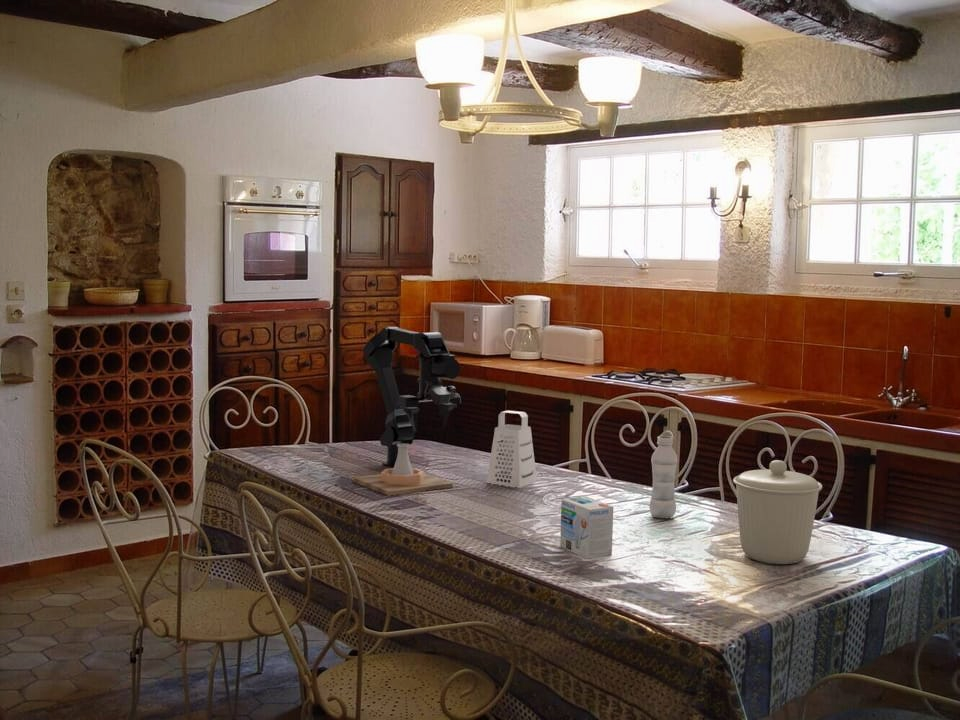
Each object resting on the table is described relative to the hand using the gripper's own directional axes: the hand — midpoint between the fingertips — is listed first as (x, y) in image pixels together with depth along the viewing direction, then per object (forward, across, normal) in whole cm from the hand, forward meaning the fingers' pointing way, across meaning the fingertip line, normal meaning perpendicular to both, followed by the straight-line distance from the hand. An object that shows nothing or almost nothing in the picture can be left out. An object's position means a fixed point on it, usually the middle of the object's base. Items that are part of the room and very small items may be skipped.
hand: (428, 429), depth 293 cm
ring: (+12, -14, -9) cm, 20 cm away
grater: (+13, +14, -22) cm, 29 cm away
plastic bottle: (+13, +22, -73) cm, 77 cm away
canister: (+13, +18, -110) cm, 112 cm away
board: (+13, -14, -9) cm, 21 cm away
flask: (+12, -14, -9) cm, 21 cm away
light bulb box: (+13, -13, -85) cm, 87 cm away
